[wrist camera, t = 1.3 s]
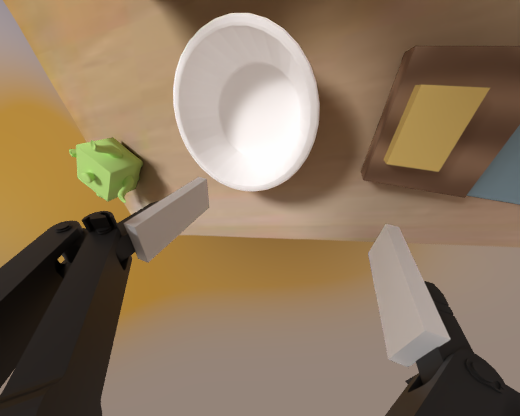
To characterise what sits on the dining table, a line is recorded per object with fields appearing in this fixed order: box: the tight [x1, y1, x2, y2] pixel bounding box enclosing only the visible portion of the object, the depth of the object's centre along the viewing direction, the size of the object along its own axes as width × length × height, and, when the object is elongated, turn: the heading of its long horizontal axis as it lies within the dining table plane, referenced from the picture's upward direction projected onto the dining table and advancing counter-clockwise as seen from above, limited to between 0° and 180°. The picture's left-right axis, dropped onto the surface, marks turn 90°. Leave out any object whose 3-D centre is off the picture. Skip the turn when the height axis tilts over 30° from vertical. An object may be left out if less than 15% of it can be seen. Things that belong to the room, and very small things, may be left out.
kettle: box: [69, 137, 143, 203], centre depth 46 cm, size 15×14×11 cm
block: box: [384, 85, 490, 172], centre depth 23 cm, size 9×6×2 cm, turn 176°
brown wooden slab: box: [361, 46, 520, 197], centre depth 25 cm, size 16×13×4 cm
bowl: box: [173, 13, 320, 191], centre depth 30 cm, size 22×22×8 cm
